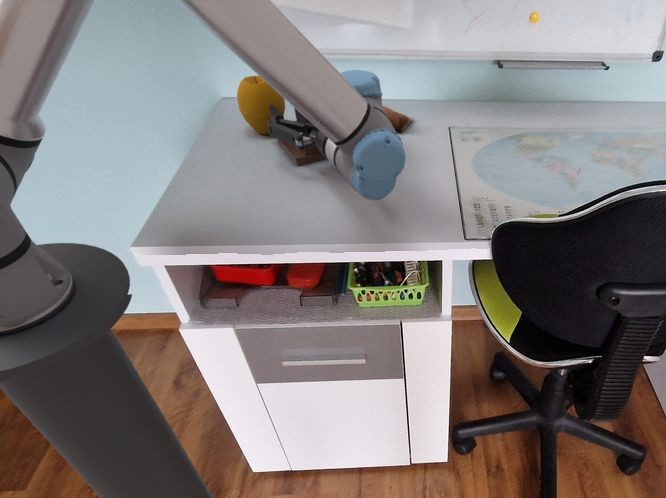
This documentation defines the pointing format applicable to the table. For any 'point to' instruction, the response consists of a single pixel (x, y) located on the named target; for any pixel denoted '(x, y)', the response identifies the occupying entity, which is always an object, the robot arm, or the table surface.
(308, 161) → the pad base
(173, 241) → the table surface
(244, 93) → the apple
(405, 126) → the sunglasses case
